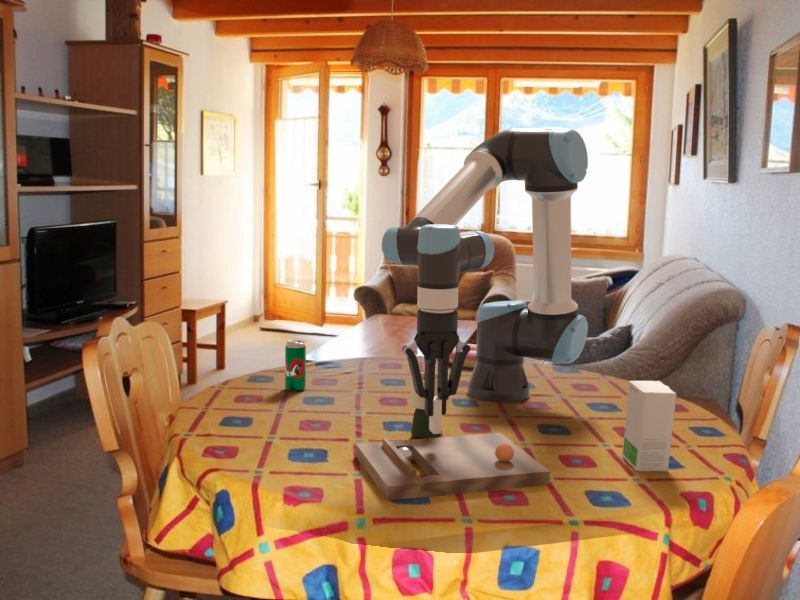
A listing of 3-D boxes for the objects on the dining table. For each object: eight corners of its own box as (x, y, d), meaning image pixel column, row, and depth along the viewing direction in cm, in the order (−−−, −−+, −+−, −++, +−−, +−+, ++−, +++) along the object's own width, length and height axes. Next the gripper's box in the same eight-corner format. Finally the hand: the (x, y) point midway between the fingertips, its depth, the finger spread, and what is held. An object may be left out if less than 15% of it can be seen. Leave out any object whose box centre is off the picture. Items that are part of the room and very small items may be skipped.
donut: (444, 368, 233) (444, 350, 232) (449, 357, 246) (450, 341, 245) (492, 371, 231) (493, 353, 230) (495, 360, 244) (496, 343, 243)
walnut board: (499, 444, 170) (500, 425, 169) (549, 484, 149) (550, 463, 148) (355, 456, 161) (356, 436, 160) (387, 500, 140) (388, 477, 139)
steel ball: (390, 448, 157) (395, 464, 158) (395, 454, 154) (400, 470, 155) (407, 442, 158) (411, 457, 159) (412, 448, 155) (417, 464, 156)
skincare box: (621, 456, 164) (626, 379, 162) (654, 456, 165) (660, 379, 162) (637, 472, 156) (642, 391, 153) (671, 472, 156) (677, 391, 154)
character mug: (447, 445, 168) (449, 382, 166) (412, 446, 168) (414, 383, 165) (438, 428, 179) (440, 369, 177) (405, 428, 178) (407, 369, 176)
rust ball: (508, 457, 155) (509, 439, 154) (516, 463, 152) (517, 445, 151) (491, 459, 154) (492, 441, 153) (499, 465, 151) (500, 447, 150)
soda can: (309, 388, 208) (310, 341, 206) (296, 393, 204) (296, 345, 202) (294, 385, 211) (294, 338, 209) (280, 389, 206) (280, 342, 204)
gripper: (463, 303, 159) (460, 422, 164) (397, 306, 156) (396, 428, 160) (478, 311, 152) (474, 434, 156) (409, 314, 149) (408, 441, 153)
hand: (435, 431), depth 158 cm, fingers closed
